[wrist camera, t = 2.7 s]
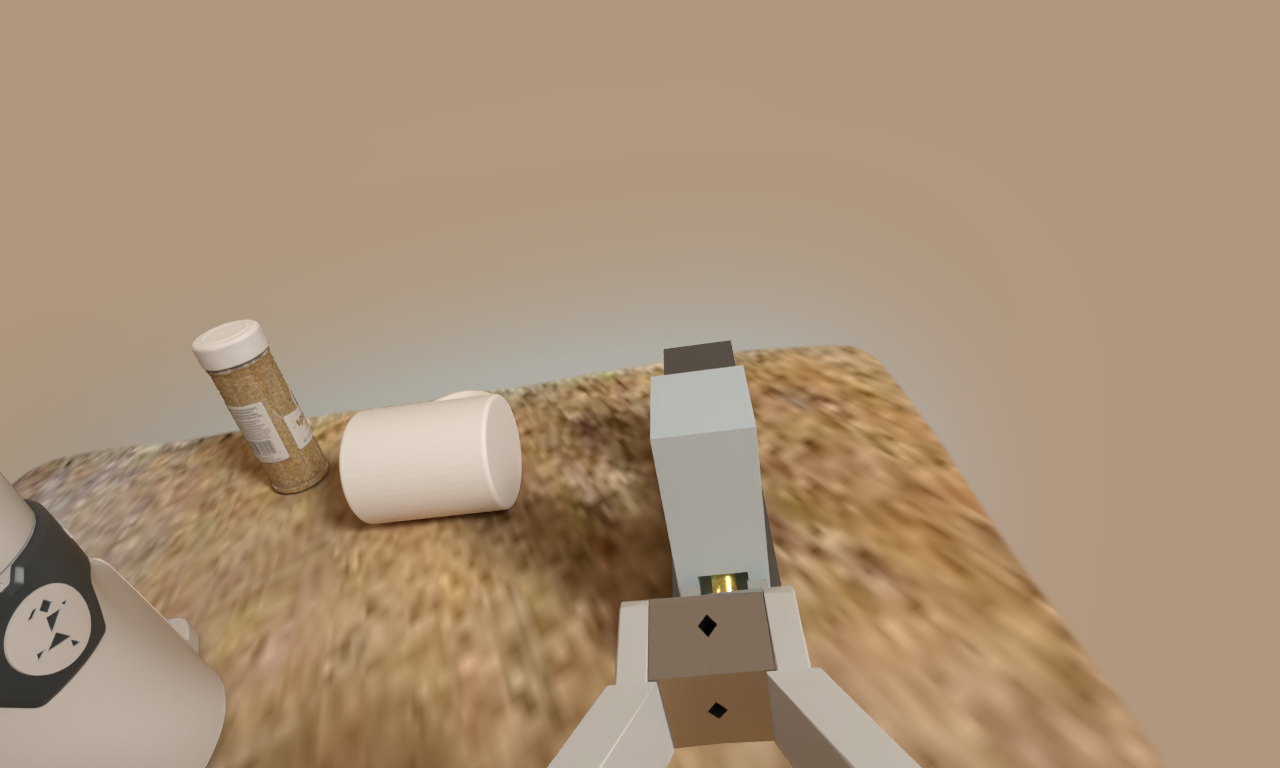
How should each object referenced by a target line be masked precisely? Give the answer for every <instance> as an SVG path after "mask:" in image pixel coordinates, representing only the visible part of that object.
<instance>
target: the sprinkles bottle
mask: <svg viewBox="0 0 1280 768" xmlns="http://www.w3.org/2000/svg"><path fill="white" fill-rule="evenodd" d="M268 344H269V343H268V340H267V338H266V336H265V334H264V332H263V331H262V329H261V327H260V325H259V324H258V323H257V322H256V321H253V320H238V321H233V322H229V323H226V324H223V325H220V326H217V327H215V328H213V329H211V330H209V331H207V332H205V333H203V334H202V335H200V336H199V337H198V338H197V339H195V340H194V342H193V344H192V350H193V352H194V354H195V356H196V358H197V360H198V361H199V363H200V365H201V366H202V368H203V369H205V370H206V372H207V373H208V374H209V375H210V376H211V378H212V380H213V381H214V383H215V385H216V387H217V389H218V390H219V391H220V394H221V396H222V397H223V399H224V401H225V404H226V406H227V408H228V410H229V411H230V413H231V415H232V416H233V418H234V420H235V422H236V423H237V425H238V427H239V429H240V430H241V432H242V434H243V435H244V437H245V439H246V441H247V442H248V444H249V446H250V447H251V449H252V451H253V452H254V454H255V456H256V457H257V459H258V460H259V461H260V462H261V464H262V466H263V467H264V469H265V470H266V472H267V474H268V476H269V477H270V479H271V481H272V487H273V488H274V490H275V491H277V492H279V493H284V494H289V493H296V492H300V491H304V490H306V489H307V488H310V487H312V486H314V485H315V484H316V483H318V482H319V481H320V480H321V479H323V478H324V476H326V474H327V472H328V471H329V468H330V463H329V460H328V459H327V458H326V457H325V456H324V454H323V452H322V450H321V449H320V446H319V444H318V442H317V441H316V439H315V437H314V435H313V431H312V429H311V427H310V426H309V424H308V422H307V420H306V418H305V416H304V414H303V413H302V411H301V409H300V407H299V405H298V403H297V401H296V399H295V397H294V395H293V394H292V392H291V390H290V388H289V386H288V384H287V383H286V382H285V380H284V378H283V375H282V374H281V372H280V370H279V368H278V366H277V364H276V362H275V361H274V358H273V356H272V355H271V353H270V349H269V346H268Z"/></svg>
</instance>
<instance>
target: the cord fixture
mask: <svg viewBox="0 0 1280 768" xmlns="http://www.w3.org/2000/svg"><path fill="white" fill-rule="evenodd" d="M732 366H735V361H734V356H733V351H732V345H731V341H723V342H715V343H708V344H701V345H694V346H685V347H678V348H670V349H664V375H670V374H677V373H685V372H693V371H701V370H709V369H717V368H724V367H732ZM761 487H762V486H761ZM762 498H763V509H764V520H765V531H766V542H767V553H768V564H769V576H770V587H778V586H781V582H780V577H779V572H778V567H777V562H776V557H775V552H774V547H773V542H772V537H771V531H770V526H769V521H768V516H767V511H766V506H765V501H764V496H763V491H762ZM711 580H712V592H713V593H720V592H729V591H737V584H736V576H735V573H731V574H721V575H711ZM747 585H748V589H755V588H762V590H763V588H768V585H767V579H758V580H747ZM672 591H673V597H680V593H679V587H678V582H677V577H676V572H675V567H674V561H673V556H672ZM700 595H702V594H701V589H700V585H695V586H685V587H681V597H687V596H700Z"/></svg>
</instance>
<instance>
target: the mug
mask: <svg viewBox="0 0 1280 768" xmlns="http://www.w3.org/2000/svg"><path fill="white" fill-rule="evenodd" d="M521 471H522V462H521V448H520V440H519V435H518V430H517V426H516V422H515V419H514V416H513V413H512V411H511V408H510V406H509V405H508V403H507V402H506V400H505V399H504V398H503V397H502V396H500V395H498V394H491V393H488V392H484V391H476V390H469V391H460V392H456V393H453V394H450V395H447V396H444V397H442V398H439V399H437V400H435V401H432V402H427V403H419V404H411V405H403V406H396V407H388V408H380V409H372V410H365V411H361V412H359V413H357V414H355V415H354V416H353V417H352V418H351V419H350V421H349V422H348V424H347V426H346V428H345V430H344V432H343V436H342V439H341V444H340V451H339V472H340V480H341V485H342V489H343V492H344V495H345V498H346V500H347V502H348V504H349V506H350V508H351V510H352V511H353V512H354V514H355V515H356V516H357V517H358V518H359V519H361V520H362V521H364V522H366V523H369V524H379V523H388V522H397V521H406V520H415V519H425V518H434V517H443V516H452V515H462V514H471V513H480V512H489V511H498V510H507V509H509V508H511V507H512V506H513V505H514V503H515V502H516V499H517V497H518V494H519V490H520V484H521Z"/></svg>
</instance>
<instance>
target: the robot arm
mask: <svg viewBox="0 0 1280 768" xmlns="http://www.w3.org/2000/svg"><path fill="white" fill-rule="evenodd" d="M73 538H74V536H73V535H72V533H71V532H70V531H69V530H68V529H67V527H66V526H65V525H64V524H63V523H62V522H61V521H60V520H56V519H55V518H54V517H53V516H52V515H51V514H50V513H49V512H48V511H47V510H46V509H45V508H44V507H43V506H42V505H41V504H39V503H38V502H36V501H32V500H29V499H23V498H22V497H21V496H20V495H19V494H18V492H17V491H16V490H15V489H14V488H13V486H12V485H11V484H10V483H9V482H8V481H7V479H6V478H5V477H4V476H3V475H2V473H1V472H0V768H206V766H207V764H208V762H209V760H210V758H211V756H212V754H213V752H214V749H215V747H216V745H217V742H218V740H219V737H220V734H221V731H222V727H223V723H224V718H225V712H226V695H225V689H224V686H223V683H222V681H221V678H220V677H219V675H218V674H217V672H216V671H215V670H214V669H213V668H212V667H211V666H209V665H208V664H207V663H206V662H205V661H204V660H203V659H202V658H201V657H200V655H199V644H198V634H197V631H196V629H195V628H194V627H193V626H192V625H191V624H190V623H189V622H188V621H187V620H186V619H184V618H173V619H169V620H166V619H165V618H164V617H163V616H162V615H161V614H160V613H159V612H158V611H157V610H156V609H155V608H154V607H153V606H152V605H151V604H150V603H149V602H148V601H147V600H146V599H145V598H144V597H143V596H142V595H141V594H140V593H139V592H138V591H137V590H136V589H135V588H134V587H133V586H132V585H131V584H130V583H129V582H128V581H126V580H125V579H124V578H123V577H122V576H121V575H120V574H119V573H118V572H117V571H116V570H115V569H114V568H113V567H112V566H111V565H110V564H108V563H107V562H106V561H104V560H102V559H99V558H92V559H88V557H87V556H86V554H85V553H84V552H83V551H82V549H81V548H80V547H79V546H78V545H77V543H76V542H75V541H74V540H73ZM757 741H775V744H776V745H777V746H778V748H779V749H780V750H781V752H782V753H783V754H784V756H785V757H786V758H787V760H788V761H789V762H790V764H791V765H792V766H793V768H921V767H920V766H919V765H918V764H917V763H916V762H915V761H914V760H913V759H912V758H911V757H910V756H909V755H908V754H907V753H906V752H905V751H904V750H903V749H902V748H901V747H900V746H899V745H898V744H897V743H896V742H895V741H894V740H893V739H892V738H891V737H890V736H889V735H888V734H887V733H886V732H885V731H884V730H883V729H882V728H881V727H880V726H879V725H878V724H877V723H876V722H875V721H874V720H873V719H872V718H871V717H870V716H869V715H868V714H867V713H866V712H865V711H864V710H863V709H862V708H861V707H860V706H859V705H858V704H857V703H856V702H855V701H854V700H853V699H852V698H851V697H850V696H849V695H848V694H847V693H846V692H845V691H843V690H842V689H841V688H840V687H839V686H838V685H837V684H836V683H835V682H834V681H833V680H832V679H831V678H830V677H829V676H828V675H827V674H826V673H825V672H824V671H823V670H822V669H821V668H820V667H813V668H811V665H810V661H809V656H808V652H807V647H806V642H805V638H804V633H803V629H802V624H801V619H800V615H799V610H798V606H797V601H796V596H795V592H794V589H793V587H792V586H791V585H788V586H778V587H769V588H763V590H762V588H755V589H747V590H738V591H729V592H720V593H711V594H706V595H700V596H687V597H673V598H660V599H650V600H638V601H626V602H622V603H621V606H620V609H619V621H618V637H617V653H616V669H615V685H609V686H606V687H605V688H604V690H603V691H602V692H601V694H600V695H599V696H598V698H597V699H596V701H595V702H594V703H593V705H592V706H591V708H590V709H589V710H588V712H587V713H586V714H585V716H584V717H583V719H582V720H581V721H580V723H579V724H578V726H577V727H576V728H575V730H574V731H573V732H572V734H571V735H570V737H569V738H568V739H567V741H566V742H565V744H564V745H563V746H562V748H561V749H560V750H559V752H558V753H557V755H556V756H555V757H554V759H553V760H552V761H551V763H550V764H549V766H548V767H547V768H667V766H668V764H669V762H670V760H671V758H672V756H673V754H674V748H682V747H692V746H701V745H711V744H720V743H737V742H757Z"/></svg>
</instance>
